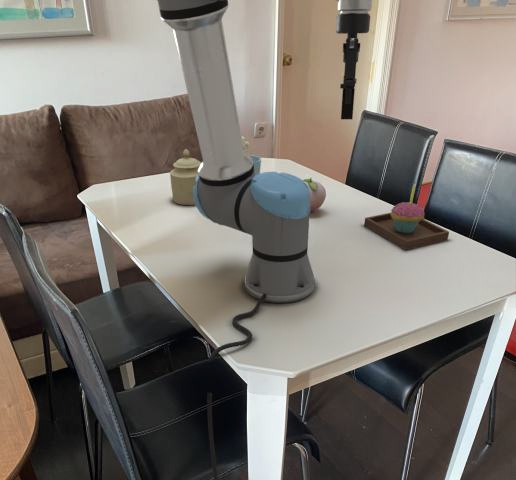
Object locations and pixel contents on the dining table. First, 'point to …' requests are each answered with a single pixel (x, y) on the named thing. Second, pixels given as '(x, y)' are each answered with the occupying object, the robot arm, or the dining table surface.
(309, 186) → the decorative fruit
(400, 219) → the cupcake
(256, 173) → the cup
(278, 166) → the dining table surface
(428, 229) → the tray
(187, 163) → the sugar bowl
